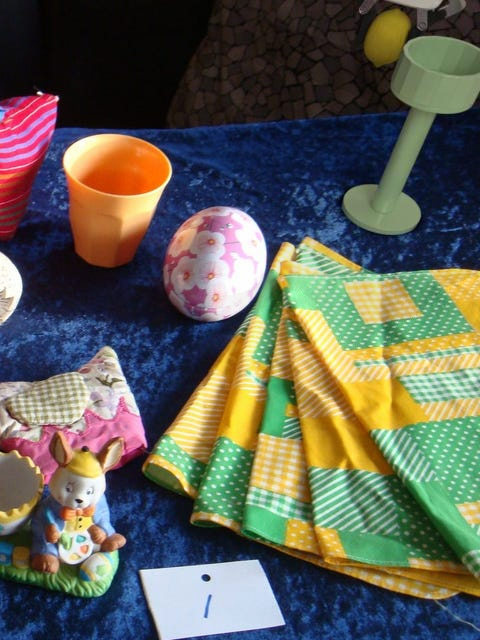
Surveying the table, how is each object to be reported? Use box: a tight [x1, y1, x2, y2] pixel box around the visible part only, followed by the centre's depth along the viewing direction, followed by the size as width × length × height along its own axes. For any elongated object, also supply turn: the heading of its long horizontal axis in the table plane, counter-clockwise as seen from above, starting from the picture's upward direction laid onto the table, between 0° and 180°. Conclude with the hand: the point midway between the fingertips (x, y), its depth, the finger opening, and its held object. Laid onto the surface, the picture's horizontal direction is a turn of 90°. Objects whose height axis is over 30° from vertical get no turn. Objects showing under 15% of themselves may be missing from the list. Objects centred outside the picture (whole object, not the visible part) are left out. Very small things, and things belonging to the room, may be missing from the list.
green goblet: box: [341, 35, 480, 236], centre depth 105 cm, size 10×10×23 cm
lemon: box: [363, 7, 412, 68], centre depth 112 cm, size 6×6×8 cm
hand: (384, 46), depth 112 cm, fingers closed on lemon, 5 cm apart
